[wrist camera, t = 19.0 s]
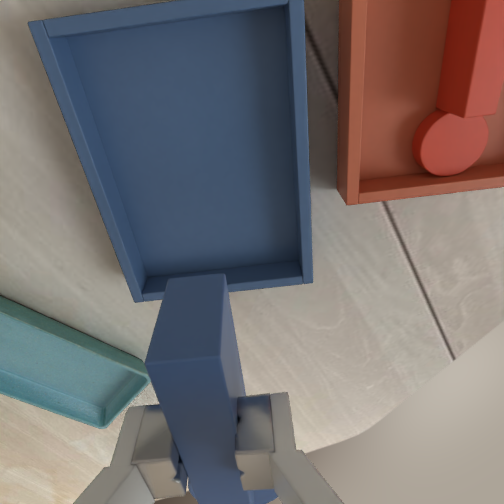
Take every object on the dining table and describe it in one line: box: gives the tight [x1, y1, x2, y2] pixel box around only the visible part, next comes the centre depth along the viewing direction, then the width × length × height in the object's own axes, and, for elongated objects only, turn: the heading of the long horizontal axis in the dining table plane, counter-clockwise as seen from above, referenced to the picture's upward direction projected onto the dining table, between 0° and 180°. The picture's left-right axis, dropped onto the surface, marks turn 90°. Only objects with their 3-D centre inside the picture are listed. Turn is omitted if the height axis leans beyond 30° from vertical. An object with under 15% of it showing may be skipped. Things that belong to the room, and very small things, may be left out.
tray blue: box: [28, 0, 313, 303], centre depth 21 cm, size 12×16×2 cm
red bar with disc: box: [412, 0, 504, 176], centre depth 18 cm, size 11×4×3 cm, turn 7°
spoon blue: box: [144, 273, 278, 504], centre depth 11 cm, size 11×4×3 cm, turn 6°
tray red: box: [337, 0, 504, 205], centre depth 17 cm, size 12×16×2 cm
